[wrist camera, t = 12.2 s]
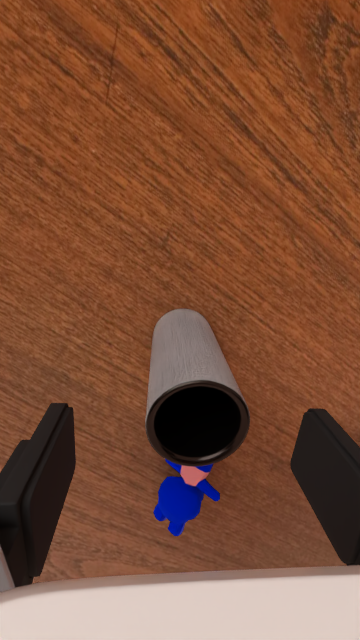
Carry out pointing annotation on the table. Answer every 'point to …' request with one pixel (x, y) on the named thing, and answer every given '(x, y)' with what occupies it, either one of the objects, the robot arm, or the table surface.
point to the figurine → (183, 496)
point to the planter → (192, 394)
